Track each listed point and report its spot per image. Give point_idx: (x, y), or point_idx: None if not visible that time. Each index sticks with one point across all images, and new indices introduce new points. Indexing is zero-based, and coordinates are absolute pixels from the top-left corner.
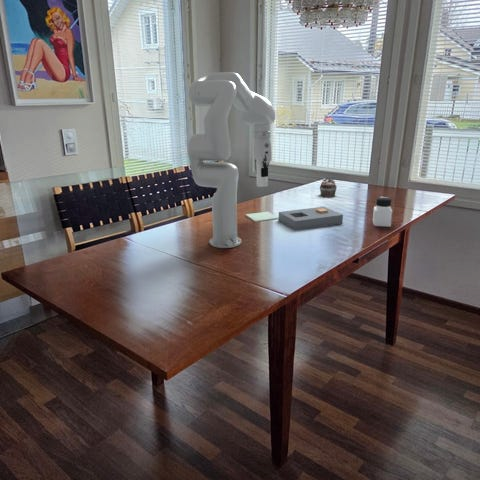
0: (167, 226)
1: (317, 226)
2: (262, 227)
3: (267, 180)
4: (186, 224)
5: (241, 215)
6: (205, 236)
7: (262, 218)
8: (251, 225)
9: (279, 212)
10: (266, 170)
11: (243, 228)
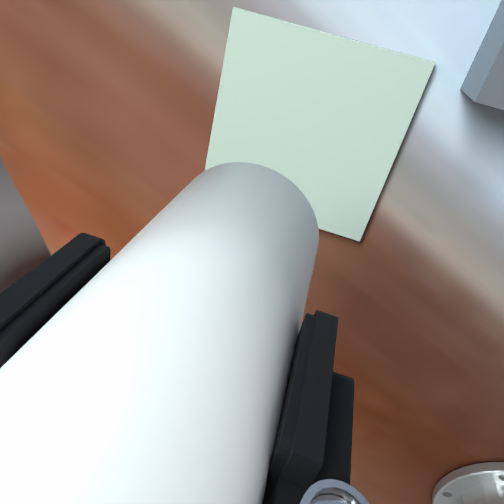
0: None
1: None
2: (481, 279)
3: (294, 234)
4: None
5: None
6: (368, 487)
7: (355, 174)
8: (397, 294)
9: (490, 106)
10: (345, 459)
11: (405, 350)
